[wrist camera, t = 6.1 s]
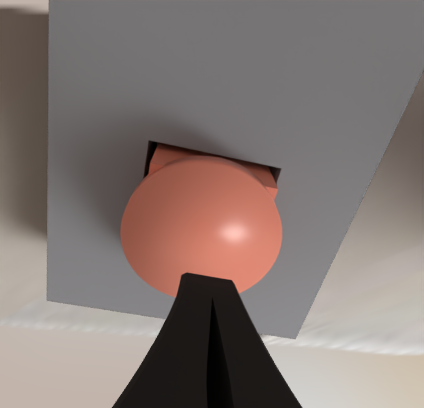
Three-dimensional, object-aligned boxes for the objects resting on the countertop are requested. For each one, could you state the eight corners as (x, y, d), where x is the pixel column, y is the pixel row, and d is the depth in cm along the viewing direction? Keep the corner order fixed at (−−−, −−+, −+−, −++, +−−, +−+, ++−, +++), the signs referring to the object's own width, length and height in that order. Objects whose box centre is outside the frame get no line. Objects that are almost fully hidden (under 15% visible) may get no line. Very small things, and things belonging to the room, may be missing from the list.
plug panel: (538, -351, 10) (727, -566, 6) (280, 285, 20) (295, 339, 17) (119, -531, 8) (55, -937, 5) (76, 250, 19) (46, 300, 16)
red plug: (278, 140, 15) (305, 184, 11) (244, 242, 18) (256, 311, 13) (152, 112, 15) (130, 147, 10) (136, 223, 17) (113, 288, 13)
